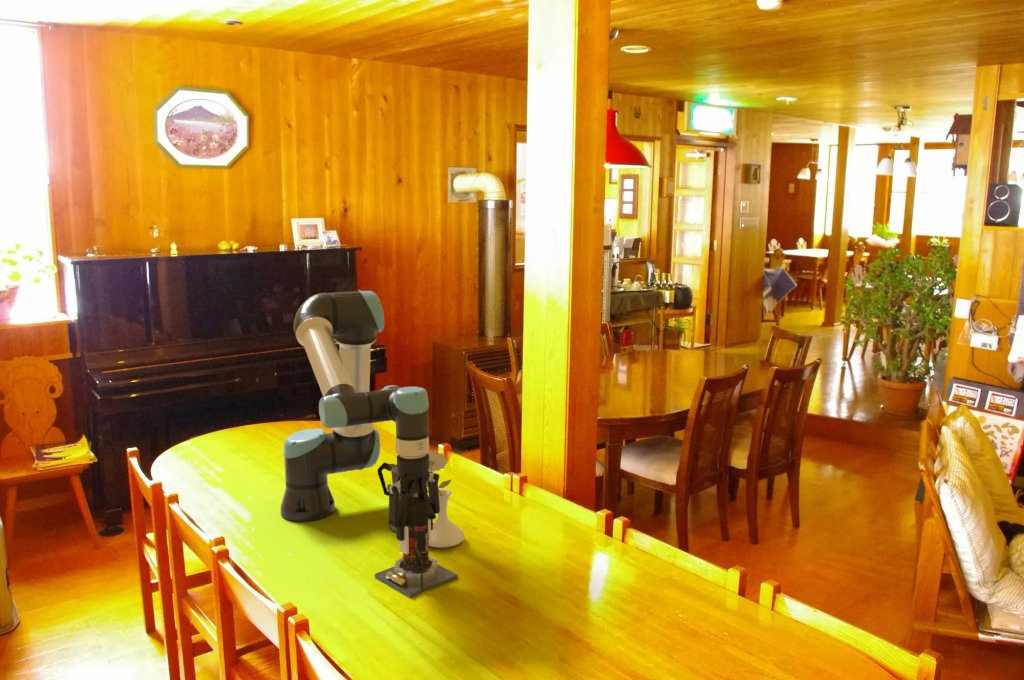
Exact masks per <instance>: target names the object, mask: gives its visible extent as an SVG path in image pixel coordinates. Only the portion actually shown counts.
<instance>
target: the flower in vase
mask: <svg viewBox="0 0 1024 680" xmlns="http://www.w3.org/2000/svg"><path fill="white" fill-rule="evenodd" d="M428 454H429V464H430V468H429V470H428V471H429V472H434V473H436V472H438V471H441V470H443V469H445V467H446V466H447V464H448V459H447V458H446V455H444V454H443V453H442V452H439V451H438V450H434V451H433V450H431V449H429V452H428ZM451 482H452V478H450V479H448V480H444V481H442V482H441V483H440V484H439V485H438V492H439V506H440V512H439V513H438V514H437V518H436V520H435V522H434V521H433V530H431V546H430V547H433V548H443V549H444V548H450V547H454V546H457V545H459V544H461V543H462V542H463V541H464V539H465V537H466V536H465V533H464V530H462V528H461V527H459V526H458V525H456V524H454V523H453V522H452V521H451V520H449V518H448V512H447V511H448V509H447V508H448V502H449V499H450V496H452V494H453V493H452V490H450V489H445V488H446V487H448V485H449V486H450V483H451ZM426 486H427V488H428V481H427V483H426Z"/></svg>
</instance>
